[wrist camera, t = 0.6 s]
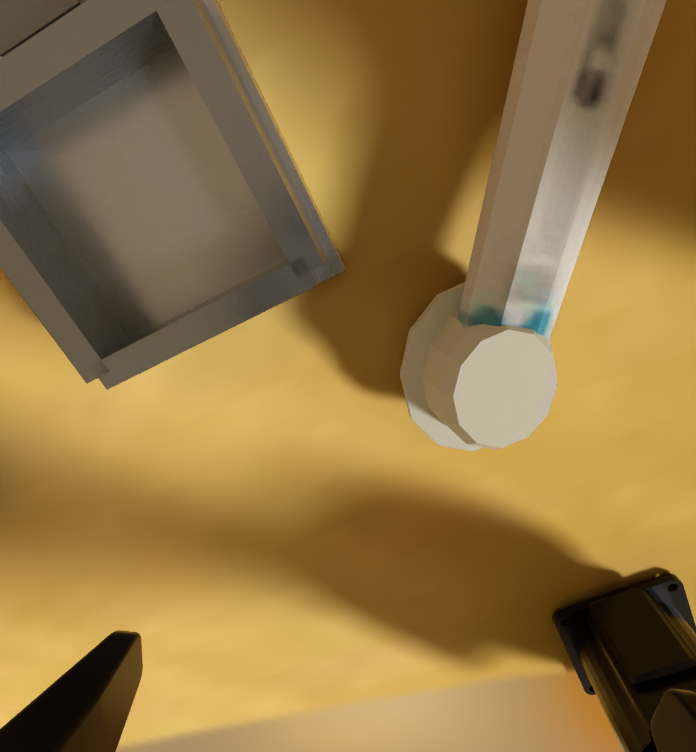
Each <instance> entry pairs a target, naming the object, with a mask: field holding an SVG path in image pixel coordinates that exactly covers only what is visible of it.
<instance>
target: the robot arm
mask: <svg viewBox="0 0 696 752" xmlns="http://www.w3.org/2000/svg"><path fill="white" fill-rule="evenodd" d="M553 621H554V623H555V625H556V628H557V630H558V632H559V634H560V637H561V639H562V641H563V643H564V645H565V648H566V650H567V652H568V654H569V657H570V659H571V661H572V663H573V666H574V668H575V670H576V672H577V675H578V677H579V679H580V681H581V683H582V686H583V688H584V690H585V692H586V693H587V694H590V695H595V694H596V695H597V697H598V699H599V701H600V703H601V705H602V707H603V709H604V711H605V713H606V715H607V718H608V720H609V722H610V724H611V726H612V728H613V730H614V732H615V734H616V736H617V738H618V740H619V742H620V744H621V746H622V748H623V750H624V752H696V626H695V623H694V619H693V616H692V613H691V610H690V606H689V603H688V600H687V596H686V593H685V590H684V586H683V584H682V582H681V581H680V580H679V579H678V577H677V576H676V575H674V574H666V575H663V576H660V577H657V578H654V579H651V580H648V581H645V582H642V583H639V584H636V585H633V586H630V587H627V588H624V589H621V590H618V591H615V592H612V593H609V594H606V595H603V596H600V597H597V598H594V599H591V600H588V601H585V602H582V603H579V604H576V605H573V606H570V607H567V608H564V609H561V610H558V611H556V612H555V613H554V614H553ZM142 669H143V664H142V646H141V636H140V634H139V633H137V632H129V631H115V632H113V633H111V634H110V635H109V636H108V637H106V638H105V639H104V640H103V641H102V642H101V643H99V644H98V645H97V646H96V647H95V648H94V649H93V650H91V651H90V652H89V653H88V654H87V655H86V656H84V657H83V658H82V659H81V660H80V661H79V662H77V663H76V664H75V665H74V666H73V667H72V668H71V669H69V670H68V671H67V672H66V673H65V674H64V675H62V676H61V677H60V678H59V679H58V680H57V681H55V682H54V683H53V684H52V685H51V686H50V687H48V688H47V689H46V690H45V691H44V692H43V693H42V694H40V695H39V696H38V697H37V698H36V699H35V700H33V701H32V702H31V703H30V704H29V705H28V706H26V707H25V708H24V709H23V710H22V711H21V712H20V713H18V714H17V715H16V716H15V717H14V718H13V719H11V720H10V721H9V722H8V723H7V724H6V725H4V726H3V727H2V728H1V729H0V752H115V751H116V749H117V746H118V743H119V740H120V737H121V734H122V731H123V729H124V726H125V723H126V720H127V717H128V714H129V712H130V709H131V706H132V703H133V700H134V697H135V694H136V692H137V689H138V686H139V683H140V679H141V675H142Z"/></svg>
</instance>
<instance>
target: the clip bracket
mask: <svg viewBox="0 0 696 752" xmlns="http://www.w3.org/2000/svg"><path fill="white" fill-rule="evenodd" d="M0 268H1V269H2V270H3V272H4V273H5V275H6V276H7V277H8V279H9V280H10V281H11V283H12V284H13V285H14V287H15V288H16V289H17V291H18V292H19V293H20V295H21V296H22V297H23V299H24V300H25V301H26V303H27V304H28V305H29V307H30V308H31V309H32V311H33V312H34V313H35V315H36V316H37V317H38V319H39V320H40V321H41V323H42V324H43V325H44V327H45V328H46V329H47V331H48V332H49V334H50V335H51V336H52V338H53V339H54V340H55V342H56V343H57V344H58V346H59V347H60V348H61V350H62V351H63V352H64V354H65V355H66V356H67V358H68V359H69V360H70V362H71V363H72V364H73V366H74V367H75V368H76V370H77V371H78V372H79V374H80V375H81V376H82V378H83V379H84V380H85V382H86V383H89V382H91V381H93V380H95V379H97V378H99V379H100V381H101V382H102V384H103V385H104V386H105V388H106V389H109V388H111V387H113V386H115V385H117V384H119V383H121V382H123V381H125V380H127V379H129V378H131V377H133V376H135V375H137V374H139V373H141V372H144V371H146V370H148V369H150V368H152V367H154V366H156V365H158V364H160V363H162V362H164V361H166V360H168V359H170V358H172V357H174V356H176V355H178V354H180V353H182V352H184V351H186V350H188V349H190V348H192V347H194V346H196V345H198V344H200V343H202V342H204V341H206V340H208V339H210V338H212V337H214V336H216V335H218V334H220V333H222V332H224V331H226V330H228V329H230V328H232V327H234V326H236V325H238V324H240V323H242V322H244V321H246V320H248V319H250V318H252V317H254V316H257V315H259V314H261V313H263V312H265V311H267V310H269V309H271V308H273V307H275V306H277V305H279V304H281V303H283V302H285V301H287V300H289V299H291V298H293V297H295V296H297V295H299V294H301V293H303V292H305V291H307V290H309V289H311V288H313V287H315V286H317V285H318V284H319V283H321V282H323V281H325V280H327V279H329V278H331V277H333V276H335V275H337V274H339V273H341V272H343V271H345V264H344V262H343V260H342V258H341V256H340V254H339V252H338V250H337V248H336V246H335V244H334V242H333V240H332V238H331V236H330V233H329V231H328V229H327V227H326V225H325V223H324V221H323V219H322V217H321V215H320V213H319V211H318V209H317V207H316V205H315V203H314V200H313V198H312V196H311V194H310V192H309V190H308V188H307V186H306V184H305V182H304V180H303V178H302V176H301V174H300V172H299V169H298V167H297V165H296V163H295V161H294V159H293V157H292V155H291V153H290V151H289V149H288V147H287V145H286V143H285V141H284V138H283V136H282V134H281V132H280V130H279V128H278V126H277V124H276V122H275V120H274V118H273V116H272V114H271V112H270V110H269V107H268V105H267V103H266V101H265V99H264V97H263V95H262V93H261V91H260V89H259V87H258V85H257V83H256V81H255V79H254V76H253V74H252V72H251V70H250V68H249V66H248V64H247V62H246V60H245V58H244V56H243V54H242V52H241V50H240V48H239V46H238V43H237V41H236V39H235V37H234V35H233V33H232V31H231V29H230V27H229V25H228V23H227V21H226V19H225V17H224V15H223V12H222V10H221V8H220V6H219V4H218V2H217V0H0Z"/></svg>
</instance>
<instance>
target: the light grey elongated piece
mask: <svg viewBox="0 0 696 752" xmlns="http://www.w3.org/2000/svg"><path fill="white" fill-rule="evenodd" d="M666 1H667V0H528V3H527V7H526V12H525V16H524V21H523V25H522V30H521V34H520V39H519V43H518V48H517V52H516V57H515V61H514V66H513V70H512V75H511V79H510V84H509V88H508V93H507V97H506V102H505V106H504V111H503V115H502V120H501V124H500V129H499V133H498V138H497V142H496V147H495V151H494V156H493V160H492V165H491V169H490V174H489V178H488V183H487V187H486V192H485V196H484V201H483V205H482V210H481V214H480V219H479V223H478V227H477V232H476V236H475V241H474V245H473V250H472V254H471V259H470V263H469V268H468V272H467V277H466V281H465V282H464V283H462V284H459V285H457V286H455V287H453V288H450V289H448V290H446V291H443V292H441V293H439V294H437V295H436V296H435V297H434V299H433V300H432V301H431V303H430V304H429V305H428V306H427V308H426V309H425V310H424V312H423V313H422V314H421V315H420V317H419V318H418V319H417V321H416V322H415V323H414V325H413V326H412V327H411V328H410V330H409V333H408V338H407V342H406V347H405V351H404V355H403V360H402V364H401V369H400V373H399V374H400V378H401V382H402V386H403V390H404V395H405V399H406V403H407V407H408V411H409V414H410V416H411V419H412V420H413V421H414V422H415V423H416V424H417V425H418V426H419V427H420V428H421V429H422V430H423V431H424V432H425V433H426V434H427V435H428V436H429V437H430V438H431V439H432V440H433V441H434V442H435V443H436V444H437V445H440V446H445V447H451V448H457V449H462V450H468V451H473V452H474V451H476V450H479V449H481V448H484V447H485V448H491V449H498V448H503V447H505V446H508V445H510V444H513V443H515V442H517V441H520V440H522V439H525V438H527V437H529V436H530V434H531V433H532V432H533V431H534V430H535V429H536V428H537V426H538V425H539V424H540V423H541V422H542V421H543V420H544V418H545V417H546V416H547V415H548V413H549V410H550V407H551V403H552V400H553V397H554V394H555V390H556V387H557V376H556V370H555V364H554V358H553V351H552V345H551V344H550V340H549V338H550V335H551V332H552V330H553V327H554V324H555V321H556V318H557V315H558V312H559V309H560V306H561V304H562V301H563V298H564V295H565V292H566V289H567V286H568V283H569V281H570V278H571V275H572V272H573V269H574V266H575V263H576V260H577V257H578V255H579V252H580V249H581V246H582V243H583V240H584V237H585V234H586V232H587V229H588V226H589V223H590V220H591V217H592V214H593V211H594V208H595V206H596V203H597V200H598V197H599V194H600V191H601V188H602V185H603V183H604V180H605V177H606V174H607V171H608V168H609V165H610V162H611V159H612V157H613V154H614V151H615V148H616V145H617V142H618V139H619V136H620V134H621V131H622V128H623V125H624V122H625V119H626V116H627V113H628V110H629V108H630V105H631V102H632V99H633V96H634V93H635V90H636V87H637V85H638V82H639V79H640V76H641V73H642V70H643V67H644V64H645V61H646V59H647V56H648V53H649V50H650V47H651V44H652V41H653V38H654V36H655V33H656V30H657V27H658V24H659V21H660V18H661V15H662V12H663V10H664V7H665V4H666Z"/></svg>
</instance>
